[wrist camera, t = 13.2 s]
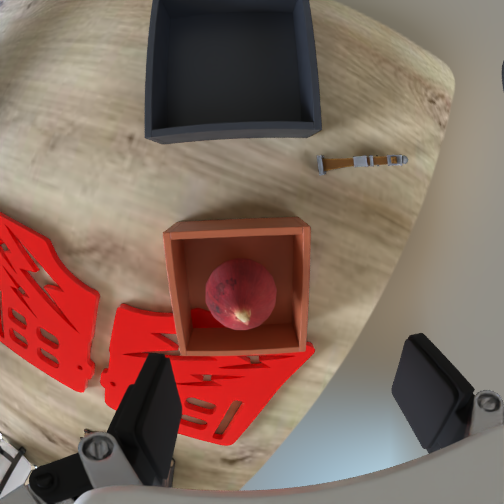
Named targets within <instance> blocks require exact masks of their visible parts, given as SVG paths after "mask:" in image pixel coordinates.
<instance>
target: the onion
mask: <svg viewBox="0 0 504 504" xmlns="http://www.w3.org/2000/svg"><path fill="white" fill-rule="evenodd" d="M276 292H277V289H276V286H275V282H274V279H273V276H272V275H271V274H270V273H269V272H268V271H267V269H266V268H265V267H264V266H263V265H262V264H259V263H257V262H255V261H253V260H251V259H244V258H235V259H232V260H228V261H225V262H224V263H222V264H221V265H220V266H218V267H217V268H216V269H215V270H214V271H213V272H212V274H211V276H210V277H209V279H208V281H207V283H206V304H207V306H208V308H209V310H210V312H211V314H212V315H213V317H214V318H215V319H216V320H218V321H219V322H220V323H221V324H223V325H224V326H226V327H228V328H231V329H234V330H248V329H251V328H255V327H258V326H260V325H261V324H262V323H263V322H264V321H265V320H266V319H268V317H269V316H270V314H271V312H272V311H273V309H274V307H275V303H276Z"/></svg>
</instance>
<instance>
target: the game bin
mask: <svg viewBox="0 0 504 504" xmlns="http://www.w3.org/2000/svg"><path fill="white" fill-rule="evenodd" d="M321 130H322V123H321V106H320V92H319V80H318V69H317V58H316V49H315V40H314V32H313V25H312V17H311V10H310V4H309V0H153V2H152V10H151V18H150V27H149V37H148V48H147V62H146V81H145V138H146V139H149V140H152V141H154V142H157V143H160V144H171V143H181V142H191V141H203V140H218V139H237V138H308V137H310V136H311V135H313V134H315V133H317V132H319V131H321Z"/></svg>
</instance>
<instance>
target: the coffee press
mask: <svg viewBox="0 0 504 504" xmlns="http://www.w3.org/2000/svg"><path fill="white" fill-rule="evenodd" d="M0 438H1V439H0V498H2V497H3V496H5V495H6V494H8V493H10V492H11V491H13V490H14V489H16V488H17V487H19V486H20V485H22V484H23V483H24V484H25V482H26V480H27V478H28V476H29V474H30V473H31V471H33V470H31V464H30V463H29V461H28V460H27V459H26V458H25V457H24V456H23V454H24V453H25V452H26V450H25V449H24V448H23V447H21V448H20V449H19V450H17V449H16V448H14V447H13V446H12V445H10V444H9V443H7V442H6V441H4V440H3V439H2V436H1V433H0ZM33 466H35V469H36V468H37V466H36V465H33Z"/></svg>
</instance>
